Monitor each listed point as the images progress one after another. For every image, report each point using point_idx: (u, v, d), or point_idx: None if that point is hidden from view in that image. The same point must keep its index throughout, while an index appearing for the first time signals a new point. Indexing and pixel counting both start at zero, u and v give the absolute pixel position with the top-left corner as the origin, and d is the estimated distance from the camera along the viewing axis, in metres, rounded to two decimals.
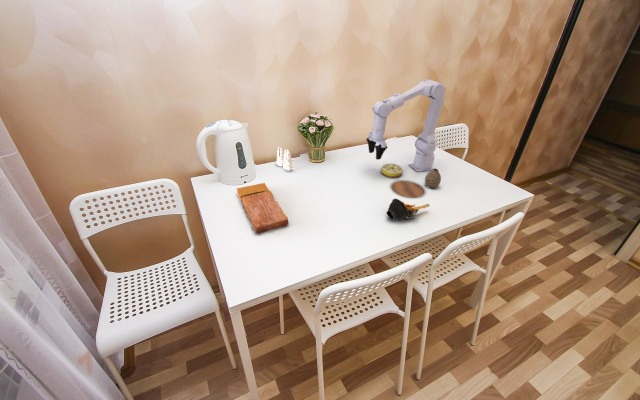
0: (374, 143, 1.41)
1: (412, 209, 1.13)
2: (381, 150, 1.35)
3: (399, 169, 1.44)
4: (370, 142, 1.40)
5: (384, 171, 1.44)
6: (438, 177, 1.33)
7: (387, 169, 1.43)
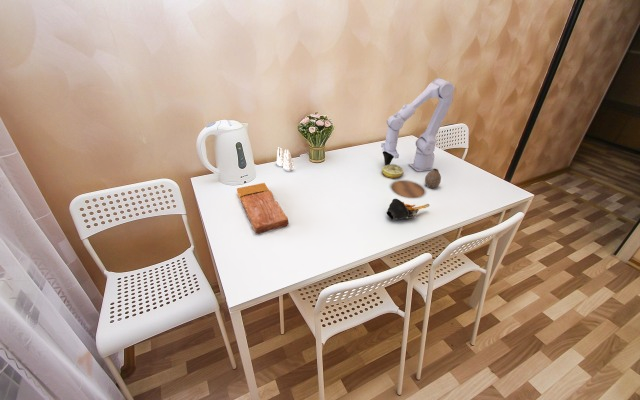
0: None
1: (412, 209, 1.13)
2: (390, 157, 1.47)
3: (400, 170, 1.43)
4: None
5: (385, 172, 1.43)
6: (438, 177, 1.33)
7: (388, 170, 1.43)
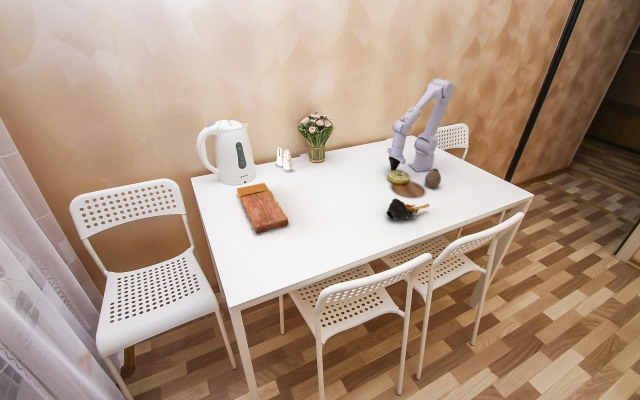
0: None
1: (412, 209, 1.13)
2: (396, 163, 1.42)
3: (406, 176, 1.38)
4: None
5: (390, 178, 1.38)
6: (438, 177, 1.33)
7: (394, 176, 1.38)
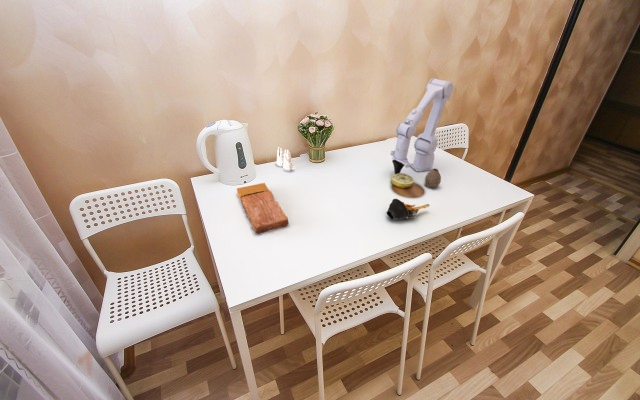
0: (400, 165, 1.40)
1: (412, 209, 1.13)
2: (400, 166, 1.40)
3: (410, 180, 1.35)
4: None
5: (394, 181, 1.35)
6: (438, 177, 1.33)
7: (397, 179, 1.35)
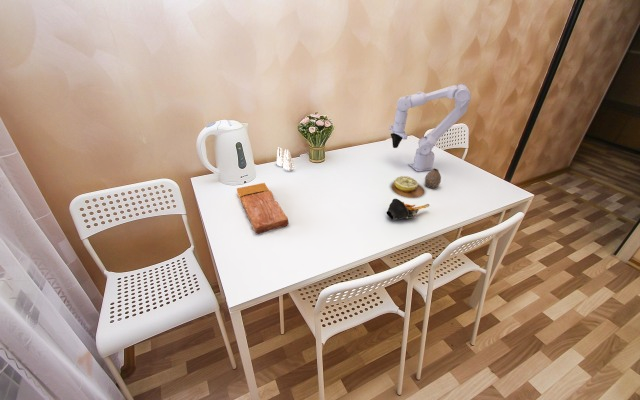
0: None
1: (412, 209, 1.13)
2: (398, 139, 1.49)
3: (414, 183, 1.32)
4: None
5: (397, 185, 1.33)
6: (438, 177, 1.33)
7: (400, 183, 1.32)
